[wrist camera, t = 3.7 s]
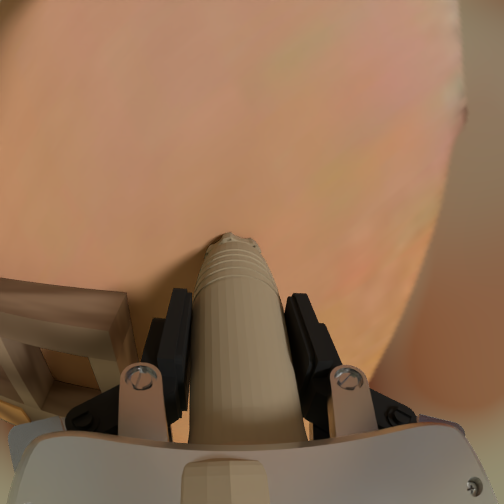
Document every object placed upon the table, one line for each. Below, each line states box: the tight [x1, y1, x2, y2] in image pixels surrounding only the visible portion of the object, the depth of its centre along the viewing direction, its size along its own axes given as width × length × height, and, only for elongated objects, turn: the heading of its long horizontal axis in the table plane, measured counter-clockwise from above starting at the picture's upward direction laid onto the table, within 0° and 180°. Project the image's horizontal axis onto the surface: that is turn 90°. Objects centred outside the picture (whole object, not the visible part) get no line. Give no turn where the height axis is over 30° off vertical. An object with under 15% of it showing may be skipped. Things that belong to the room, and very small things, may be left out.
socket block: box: [0, 278, 139, 426], centre depth 19 cm, size 18×22×4 cm
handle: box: [180, 232, 308, 504], centre depth 11 cm, size 5×6×15 cm
